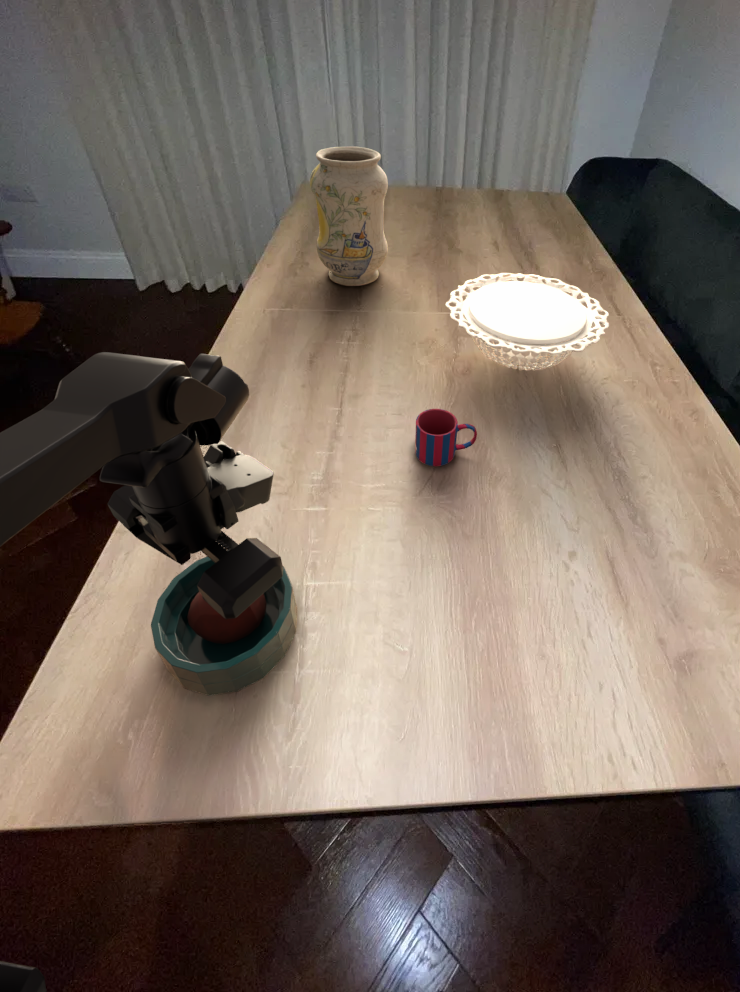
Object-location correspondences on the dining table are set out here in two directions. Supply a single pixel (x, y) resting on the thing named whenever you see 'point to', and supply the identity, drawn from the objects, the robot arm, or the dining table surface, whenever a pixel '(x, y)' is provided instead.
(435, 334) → the dining table surface
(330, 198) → the vase
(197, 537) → the robot arm
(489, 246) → the dining table surface
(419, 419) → the mug
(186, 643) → the bowl
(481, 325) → the white lattice bowl
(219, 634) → the potato
